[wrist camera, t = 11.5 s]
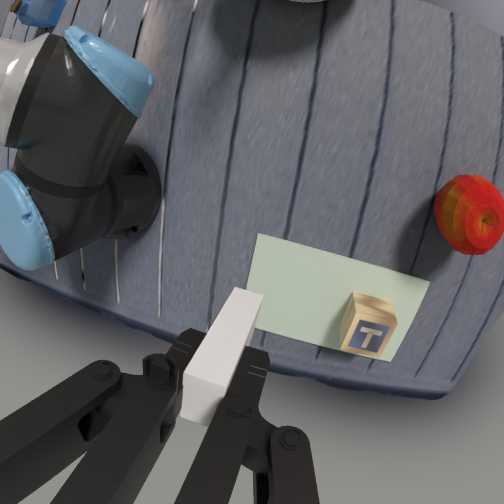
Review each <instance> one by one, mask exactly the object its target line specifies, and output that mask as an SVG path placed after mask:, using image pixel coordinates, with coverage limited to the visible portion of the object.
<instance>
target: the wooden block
mask: <svg viewBox="0 0 504 504" xmlns="http://www.w3.org/2000/svg"><path fill="white" fill-rule="evenodd" d="M397 324H398V322H397V319H396V316H395V313H394V311H393V308H392V305H391V302H390V301H387V300H383V299H380V298H376V297H372V296H369V295H365V294H361V293H357V292H354V291H353V292H352V295H351V297H350V300H349V303H348V305H347V308H346V310H345V313H344V315H343V318H342V320H341V323H340V325H339V331H340V349H341V350H345V351H349V352H354V353H358V354H362V355H367V356H371V357H376V358H380V357H381V355H382V353H383V351H384V349H385V347H386V346H387V344H388V342H389V340H390V338H391V336H392V334H393V332H394V330H395V328H396V326H397Z"/></svg>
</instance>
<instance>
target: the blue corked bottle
mask: <svg viewBox="0 0 504 504" xmlns="http://www.w3.org/2000/svg"><path fill="white" fill-rule="evenodd" d="M66 2H67V1H65V0H15V1H14V2H13V4H12V6H11V8H10V12H14V13H15V14H19V16H18V18H19V19H20V21H21V23H22V24H25V25H30V26H35V27H39V28H45V27H52V26H56V25H57V23H58V20H59V18H60V16H61V13H62V11H63V9H64V7H65V5H66Z"/></svg>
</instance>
